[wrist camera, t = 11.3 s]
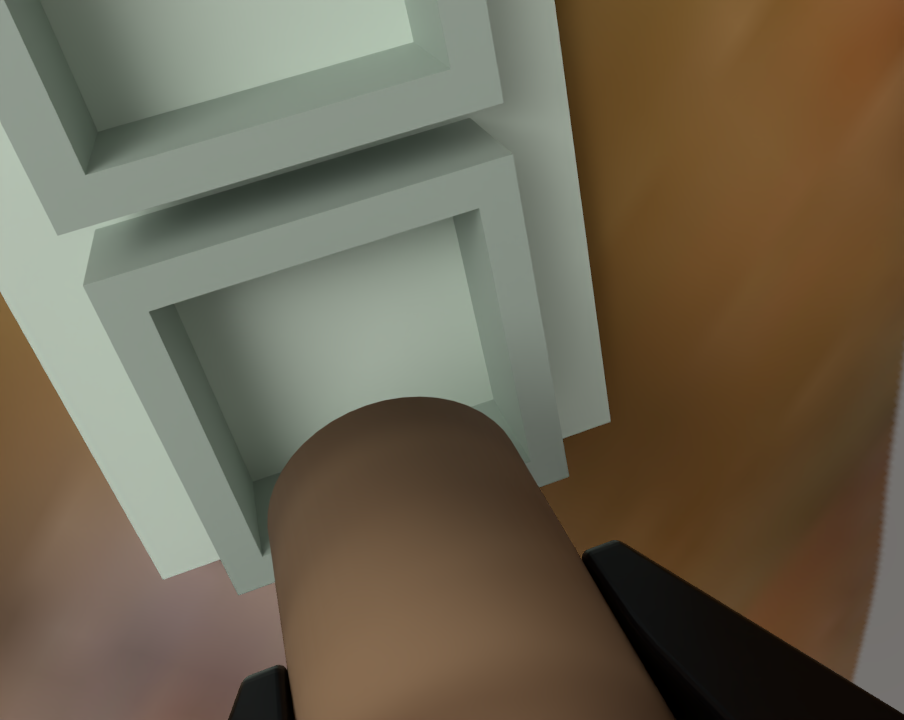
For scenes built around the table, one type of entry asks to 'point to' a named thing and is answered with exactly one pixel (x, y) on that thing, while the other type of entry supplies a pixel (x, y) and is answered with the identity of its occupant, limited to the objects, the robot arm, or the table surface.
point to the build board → (289, 238)
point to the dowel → (438, 580)
